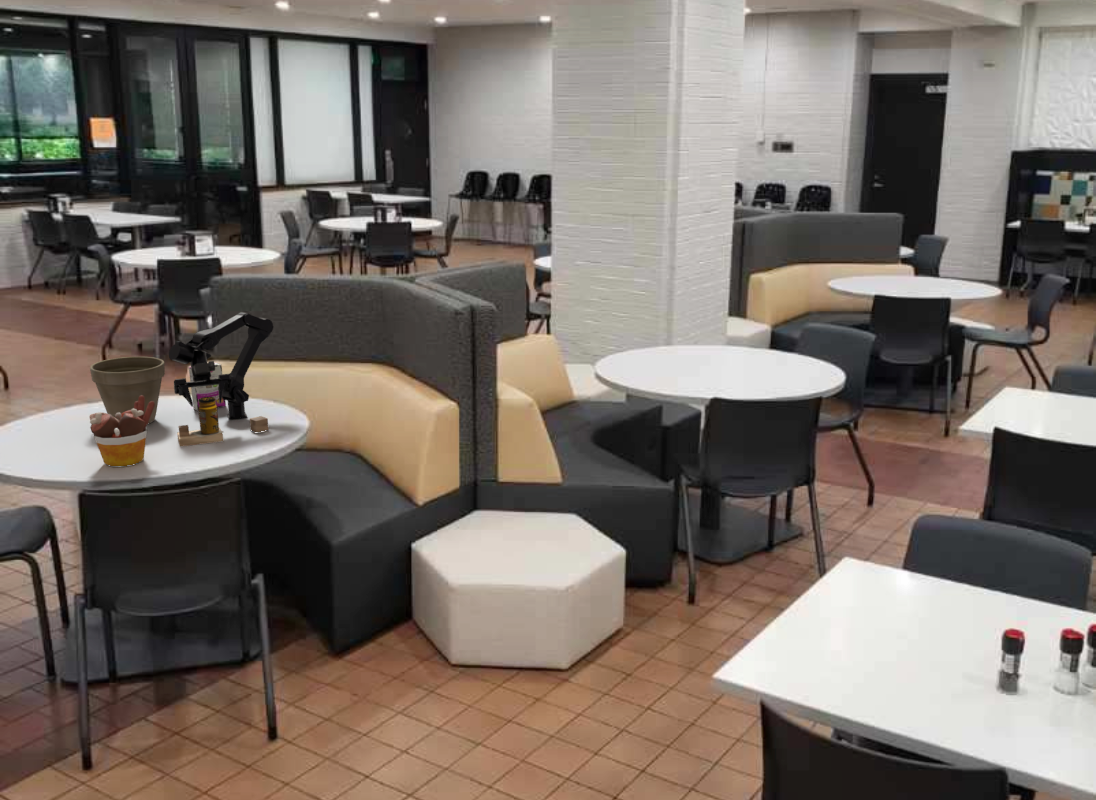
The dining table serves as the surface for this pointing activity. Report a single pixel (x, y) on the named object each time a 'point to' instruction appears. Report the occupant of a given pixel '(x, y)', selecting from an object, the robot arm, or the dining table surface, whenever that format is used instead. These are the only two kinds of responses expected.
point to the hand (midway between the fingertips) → (206, 404)
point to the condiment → (207, 417)
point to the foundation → (195, 437)
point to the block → (259, 424)
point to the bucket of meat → (122, 434)
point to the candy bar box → (207, 389)
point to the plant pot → (128, 382)
